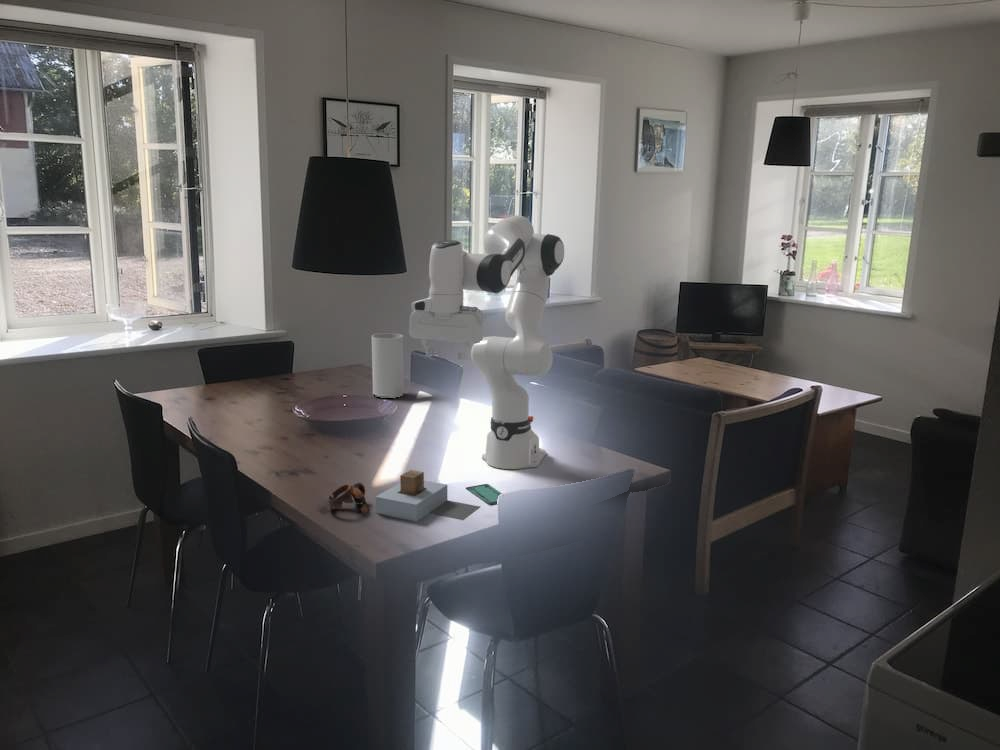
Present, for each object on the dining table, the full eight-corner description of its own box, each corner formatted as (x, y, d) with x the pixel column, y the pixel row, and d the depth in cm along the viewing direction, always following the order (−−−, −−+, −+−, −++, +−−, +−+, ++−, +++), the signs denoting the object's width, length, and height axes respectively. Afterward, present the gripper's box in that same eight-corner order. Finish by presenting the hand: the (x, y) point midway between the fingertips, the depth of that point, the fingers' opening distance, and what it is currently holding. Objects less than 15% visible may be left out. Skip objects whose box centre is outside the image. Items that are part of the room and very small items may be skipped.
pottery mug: (363, 522, 201) (345, 496, 199) (335, 532, 205) (317, 507, 202) (381, 494, 211) (364, 470, 209) (353, 504, 215) (337, 480, 213)
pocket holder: (409, 495, 218) (408, 477, 217) (447, 502, 213) (447, 484, 212) (376, 515, 204) (375, 496, 203) (416, 523, 199) (416, 504, 198)
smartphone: (490, 505, 210) (464, 486, 222) (490, 509, 210) (464, 491, 223) (514, 500, 213) (488, 482, 226) (514, 505, 213) (488, 487, 226)
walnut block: (411, 502, 212) (410, 469, 210) (424, 504, 210) (423, 472, 208) (400, 508, 207) (400, 475, 205) (414, 511, 205) (413, 477, 204)
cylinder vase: (370, 399, 322) (368, 338, 317) (376, 391, 334) (374, 333, 329) (401, 399, 322) (400, 338, 317) (405, 392, 334) (404, 333, 329)
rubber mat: (447, 502, 213) (447, 500, 213) (480, 508, 209) (480, 506, 209) (428, 515, 204) (428, 513, 204) (463, 522, 200) (463, 520, 200)
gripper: (487, 306, 203) (486, 359, 206) (418, 301, 211) (418, 352, 214) (476, 308, 197) (475, 363, 200) (406, 303, 206) (406, 356, 208)
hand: (445, 357), depth 207 cm, fingers open, 8 cm apart
